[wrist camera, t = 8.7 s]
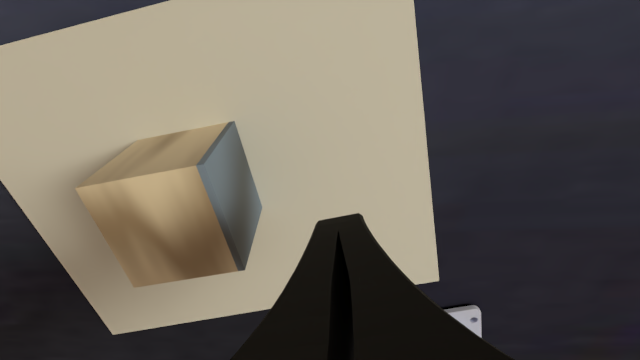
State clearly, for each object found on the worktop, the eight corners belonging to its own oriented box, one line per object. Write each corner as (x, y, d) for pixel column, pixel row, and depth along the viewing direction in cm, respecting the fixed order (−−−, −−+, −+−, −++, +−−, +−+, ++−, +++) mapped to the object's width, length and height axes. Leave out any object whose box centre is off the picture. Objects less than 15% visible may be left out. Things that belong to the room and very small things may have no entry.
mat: (436, 274, 22) (439, 280, 22) (117, 327, 24) (113, 334, 24) (404, -61, 14) (407, -63, 13) (-68, 65, 16) (-82, 67, 16)
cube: (244, 270, 15) (133, 287, 15) (262, 207, 19) (176, 222, 20) (203, 163, 12) (74, 188, 13) (234, 120, 17) (137, 140, 17)
